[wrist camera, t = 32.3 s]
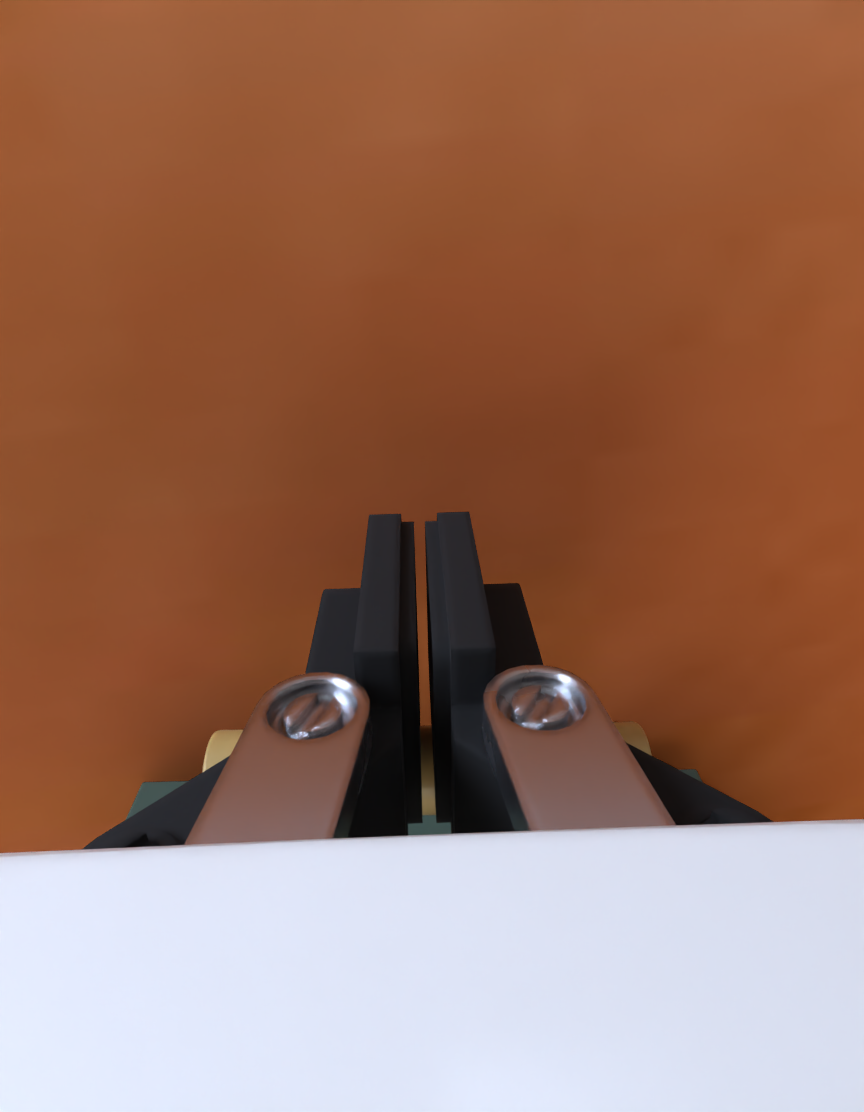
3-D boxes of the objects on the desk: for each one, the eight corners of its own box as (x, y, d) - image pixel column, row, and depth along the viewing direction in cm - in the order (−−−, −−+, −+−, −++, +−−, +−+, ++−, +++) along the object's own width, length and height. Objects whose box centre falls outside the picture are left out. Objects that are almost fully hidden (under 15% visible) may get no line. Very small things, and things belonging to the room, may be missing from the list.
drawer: (96, 609, 14) (-152, 939, 8) (739, 599, 15) (992, 903, 8) (228, 1107, 24) (165, 1435, 17) (614, 1091, 24) (688, 1405, 18)
